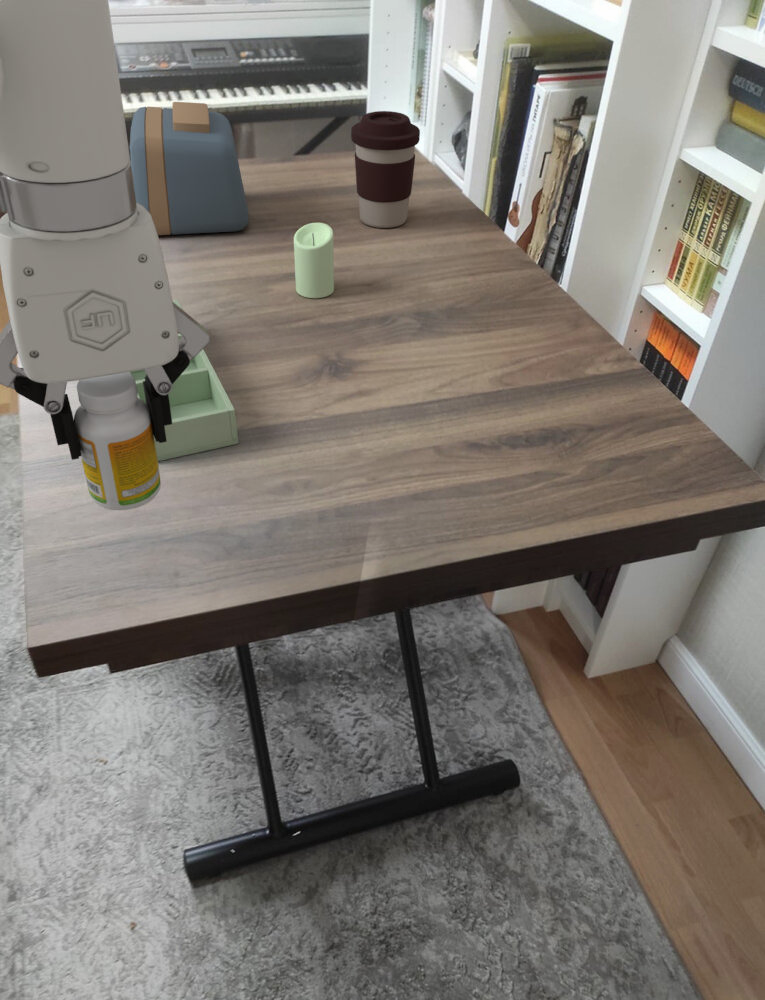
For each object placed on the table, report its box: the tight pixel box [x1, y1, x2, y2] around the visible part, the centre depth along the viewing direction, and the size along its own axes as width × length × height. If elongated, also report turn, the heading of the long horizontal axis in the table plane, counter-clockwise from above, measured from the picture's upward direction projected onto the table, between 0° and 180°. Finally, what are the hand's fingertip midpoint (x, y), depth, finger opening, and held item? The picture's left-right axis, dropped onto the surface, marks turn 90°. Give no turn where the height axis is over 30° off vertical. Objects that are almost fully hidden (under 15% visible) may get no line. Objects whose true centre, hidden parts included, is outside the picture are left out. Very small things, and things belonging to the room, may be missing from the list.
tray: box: [128, 299, 239, 462], centre depth 89 cm, size 9×25×4 cm, turn 23°
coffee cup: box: [350, 110, 421, 229], centre depth 124 cm, size 10×10×15 cm
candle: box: [293, 222, 335, 299], centre depth 107 cm, size 5×5×8 cm
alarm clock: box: [128, 101, 250, 236], centre depth 123 cm, size 16×16×16 cm
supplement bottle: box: [73, 372, 162, 511], centre depth 62 cm, size 5×5×10 cm
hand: (116, 438), depth 62 cm, fingers closed on supplement bottle, 5 cm apart
